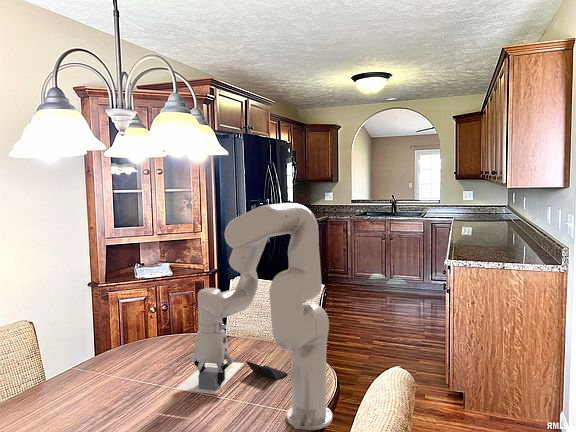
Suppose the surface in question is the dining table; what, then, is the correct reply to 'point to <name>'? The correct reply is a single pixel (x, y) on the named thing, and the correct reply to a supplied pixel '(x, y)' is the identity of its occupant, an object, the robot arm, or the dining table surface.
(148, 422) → the dining table surface
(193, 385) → the mat
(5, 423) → the dining table surface
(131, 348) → the dining table surface
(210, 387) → the card box
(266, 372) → the handheld gaming console
